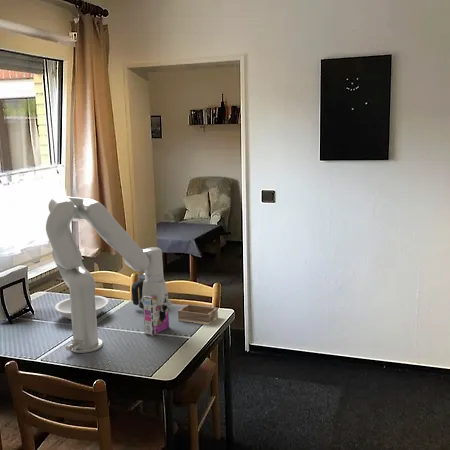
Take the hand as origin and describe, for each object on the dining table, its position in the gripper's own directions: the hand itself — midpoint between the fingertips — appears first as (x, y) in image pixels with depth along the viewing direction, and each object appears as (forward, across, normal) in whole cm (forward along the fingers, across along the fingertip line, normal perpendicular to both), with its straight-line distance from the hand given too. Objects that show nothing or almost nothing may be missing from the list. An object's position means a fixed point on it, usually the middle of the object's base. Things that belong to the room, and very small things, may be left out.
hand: (156, 318), depth 224 cm
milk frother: (+6, -18, +24) cm, 30 cm away
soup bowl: (+6, -41, +2) cm, 41 cm away
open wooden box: (+5, +10, +18) cm, 21 cm away
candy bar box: (+6, 0, 0) cm, 6 cm away
